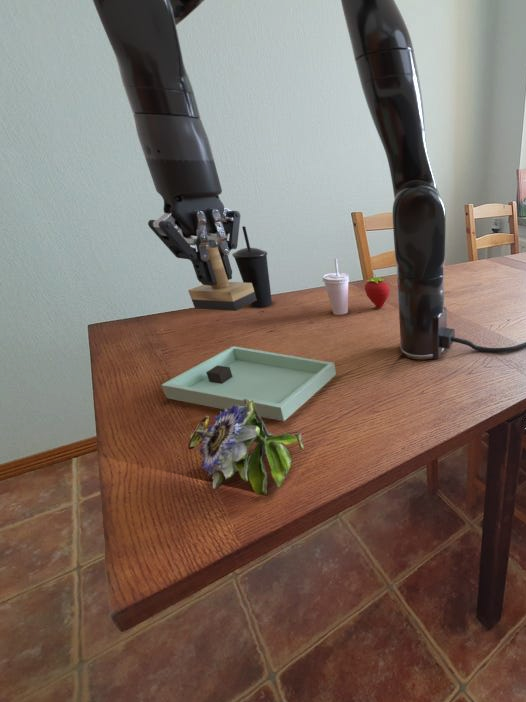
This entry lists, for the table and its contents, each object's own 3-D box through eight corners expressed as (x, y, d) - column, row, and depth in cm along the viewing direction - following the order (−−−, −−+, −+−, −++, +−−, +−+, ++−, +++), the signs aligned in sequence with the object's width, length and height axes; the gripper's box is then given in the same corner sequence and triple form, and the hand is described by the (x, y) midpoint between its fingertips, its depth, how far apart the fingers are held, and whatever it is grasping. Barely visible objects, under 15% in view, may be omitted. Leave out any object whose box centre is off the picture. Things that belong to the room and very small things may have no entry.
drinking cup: (284, 303, 102) (268, 226, 93) (259, 311, 96) (239, 230, 86) (264, 297, 105) (247, 223, 95) (239, 305, 99) (217, 226, 89)
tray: (336, 378, 70) (334, 362, 68) (284, 425, 57) (280, 407, 56) (237, 360, 74) (232, 345, 72) (167, 401, 61) (160, 384, 59)
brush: (257, 300, 62) (241, 244, 58) (236, 311, 57) (217, 251, 53) (218, 298, 63) (199, 243, 58) (194, 308, 58) (172, 250, 54)
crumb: (232, 376, 67) (229, 367, 66) (222, 383, 65) (219, 374, 64) (220, 374, 67) (217, 365, 66) (209, 382, 65) (205, 372, 64)
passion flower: (232, 507, 50) (178, 433, 48) (307, 457, 56) (262, 389, 54) (233, 523, 41) (167, 432, 39) (323, 461, 47) (270, 380, 45)
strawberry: (377, 314, 98) (374, 277, 93) (361, 307, 102) (357, 271, 98) (396, 309, 102) (394, 273, 97) (379, 302, 106) (376, 267, 102)
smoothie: (345, 318, 95) (338, 263, 88) (322, 315, 96) (313, 260, 89) (357, 309, 101) (351, 257, 94) (335, 306, 102) (328, 254, 95)
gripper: (153, 157, 44) (200, 298, 52) (243, 158, 56) (269, 272, 64) (101, 154, 45) (155, 292, 53) (200, 155, 57) (231, 268, 65)
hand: (217, 281), depth 58 cm, fingers closed on brush, 2 cm apart
